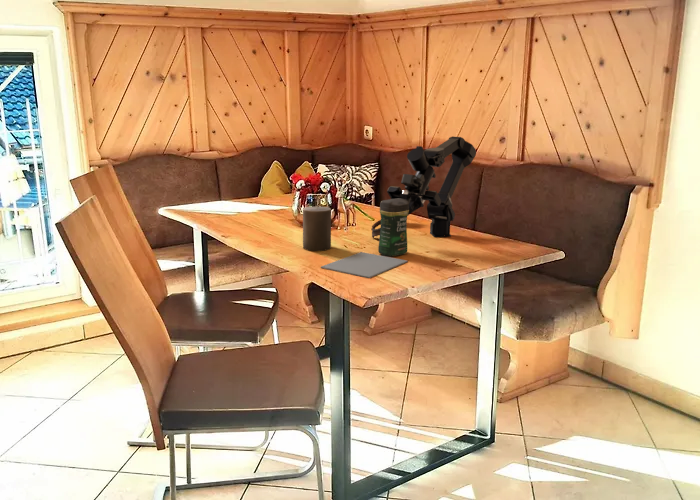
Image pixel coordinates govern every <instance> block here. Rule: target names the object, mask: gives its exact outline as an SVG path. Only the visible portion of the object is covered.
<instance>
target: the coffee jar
mask: <svg viewBox="0 0 700 500" xmlns="http://www.w3.org/2000/svg"><path fill="white" fill-rule="evenodd" d="M408 212H409V203H408V201H407V200H405V199H401V198H396V199H391V198H390V199H389V198H388V199H383V200H381V201H380V204H379V215H380V220H381V224H380V227H379V228H380V235H379V238H378V247H377V248H378V253H379V255H381V256H386V257H397V256H402V255H405V254H407V253H408V233H407V232H408V229H407V227H408V225H407V222H408V220H407V219H408V216H409V215H408ZM407 215H408V216H407Z"/></svg>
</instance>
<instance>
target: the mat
mask: <svg viewBox="0 0 700 500" xmlns="http://www.w3.org/2000/svg"><path fill="white" fill-rule="evenodd" d="M408 261H409V260H406V259H400V258H395V257H392V256H384V255H381V254H374V253H369V252H363V251H359V252H357V253H355V254H352V255H349V256H346V257H343V258H341V259H338V260H335V261H332V262H330V263H327V264H325V265H321V266H320V269H324V270H327V271H333V272H338V273H342V274H343V273H344V274H347V275H351V276H352V275H353V276H356V277H362V278H365V279H370V278H374V277H376V276H378V275H380V274H383V273H385V272H387V271H390V270H392V269H395V268H396V267H399V266H402V265H403V264H406V263H408Z"/></svg>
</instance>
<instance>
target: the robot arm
mask: <svg viewBox="0 0 700 500" xmlns="http://www.w3.org/2000/svg"><path fill="white" fill-rule="evenodd" d="M450 155H451V158H452V159H451V161H452V163H451V165H450V167H449V170H448V172H447V174H446V176H445V178H444V181H443V183H442V185H441V187H440V189H439V191H436V190H429V189H430V187H429V184H430V183H431V180H432V179H434V178H436V176H437V175H436V172H435V169H434V168H440V167H441V166H443V164H444V163H445V159H446V158H447V157H448V156H450ZM476 155H477V149H476V148H475V147H474V145H473V144H472V143H470V142H468V141H466V139H464V138H463V137H461V136H450V137H449V138H448V139H447V140H444V141H443V142H442V143H441V144H439V145H438V146H436V147H431V148H427V149H424V148H423V146H422V145H421V146H418V145H417V146H416V147H415V148H413V149H411V150H410V151H409V152H407V155H406V157H407V160H408V162H409V164H410V166H411V168H412V170H413V171H415V174H407V173H404V174H402V177H401V182H400V184H402V185H404V189H405V190H404V189H403V190H402V189H401V187H400V186H393V185H391V186H389V187H388V188H387V191H386V193H387V194H388V196H389V197H390V199H396V198H401V199H405V200H407V201H408V203H409V212H408V215H407V217H408V216H410V215H411V214H412V213H413V212H416V210H418V209H420V208H423V207H424V203H425V202H426V201H428V203H427V205H426V212H427V218H428V219H431V222H430V223H429V224H430V225H429V229H430V230H429V234H430V235H432V236H433V238H441V237H442V238H445V237H452V234H451V222H453V221H454V220H455V216H456V213H455V211H454V210H453V202H452V197H453V195H454V193H455V190H456V188H457V186H458V183H459V181H460V179H461V177H462V174H463V172H464V170H465V168H467V167H468V166H469V165H471V164H472V162H473V160H474V159H475V157H476Z"/></svg>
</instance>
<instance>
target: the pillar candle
mask: <svg viewBox="0 0 700 500" xmlns="http://www.w3.org/2000/svg"><path fill="white" fill-rule="evenodd" d="M315 205H316V206H306V207H303V209H302V246H303V247H302V248H303V249H305V250H306V251H311V252H312V251H313V252H318V251H320V252H321V251H323V252H325V251H328V250H330V249H331V248H332V208H330V207H327V206H326V207H325V206H318V204H315Z"/></svg>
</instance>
